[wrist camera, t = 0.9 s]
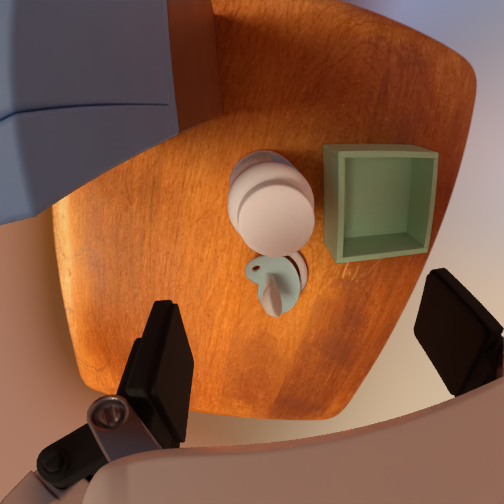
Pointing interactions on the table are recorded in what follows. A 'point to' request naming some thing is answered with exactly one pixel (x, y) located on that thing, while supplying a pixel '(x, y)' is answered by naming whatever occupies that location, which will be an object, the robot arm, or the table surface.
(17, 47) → the blue bin
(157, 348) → the robot arm
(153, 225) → the table surface
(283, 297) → the pacifier
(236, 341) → the table surface
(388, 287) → the table surface
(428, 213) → the green bin
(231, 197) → the pill bottle
